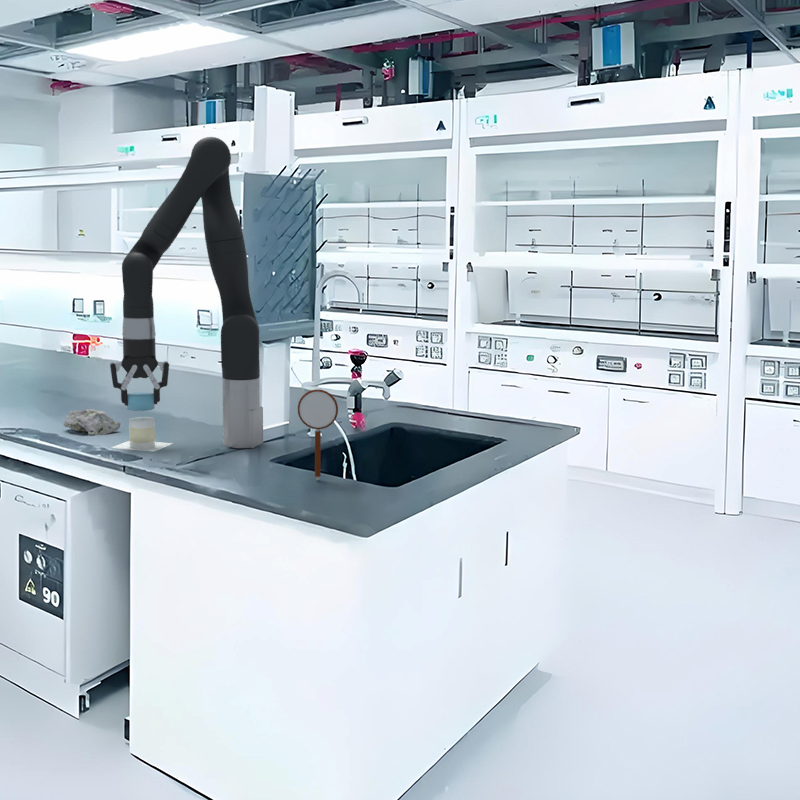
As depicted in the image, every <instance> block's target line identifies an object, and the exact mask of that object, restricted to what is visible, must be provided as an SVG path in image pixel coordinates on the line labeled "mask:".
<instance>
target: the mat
mask: <svg viewBox="0 0 800 800" xmlns="http://www.w3.org/2000/svg"><path fill="white" fill-rule="evenodd" d="M171 445H174V443H173V442H161V441H155V448H152V449H147V450H139V451H142V452H144V451H145V452H152V453H154V452H156V451H159V450H162V449H163V448H166V447H169V446H171ZM110 449H119V450H128V451H129V450H131V451H135V450H134V449H131V448H130V441H129V440H127V441H124V442H122V443H120V444H117V445H113V446H111V447H110Z"/></svg>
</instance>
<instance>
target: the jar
mask: <svg viewBox="0 0 800 800" xmlns="http://www.w3.org/2000/svg"><path fill="white" fill-rule="evenodd" d="M128 437H129V440H128V441H130V448H131V449H134V450H133V451H140V450H147V449H152V448H155V442H156V425H155V418H154V417H151V416H137V417H132V418H131V417H130V418H129V419H128Z"/></svg>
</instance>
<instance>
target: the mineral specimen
mask: <svg viewBox="0 0 800 800" xmlns="http://www.w3.org/2000/svg"><path fill="white" fill-rule="evenodd" d="M64 419H65V420H64V423H63V426H64V427H66V428H70V430H74V431H76V432H79V431H82V432H87V434H88V436H105V435H107V434H112V433H114V432H116V431H118V430H119V429H120V428H121V422H119V421H115V420H114V419H113V418H111V417H110V416H109V415H108V414H107V413H106V411H102V410H96V409H94V408H87V409H82V410H78V411H77V410H75V409H74V410H73V409H72V410H70V411H69V412H67V415H66V417H65V418H64Z"/></svg>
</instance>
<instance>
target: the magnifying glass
mask: <svg viewBox="0 0 800 800" xmlns="http://www.w3.org/2000/svg"><path fill="white" fill-rule="evenodd" d="M338 413H339V406H338V402H337V399H336V397H334V396H333V395H332V394H331V393H330V392H329V391H326V390H323V389H312V390H309V391H306V393H304V394H303V395H302V396H301V398H299V400H298V405H297V415H298V417H299V419H300V420H301V421H300V422H302V424H304V426H306V427H308V428H310V429H312V430H313V429H314V430H315V431H314V476H315V480H316V481H317V482H318V481H319V480H320V477H321V456H322V455H321V454H322V453H321V452H322V451H321V443H322V442H321V439H322V438H321V434H322V433H321V430H323V429H327V428H329V427H330V426H332V425H333V424H334V423H335V421H336V419H337V417H338Z"/></svg>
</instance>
